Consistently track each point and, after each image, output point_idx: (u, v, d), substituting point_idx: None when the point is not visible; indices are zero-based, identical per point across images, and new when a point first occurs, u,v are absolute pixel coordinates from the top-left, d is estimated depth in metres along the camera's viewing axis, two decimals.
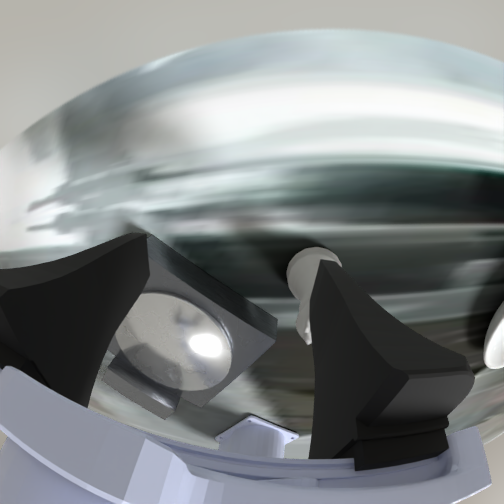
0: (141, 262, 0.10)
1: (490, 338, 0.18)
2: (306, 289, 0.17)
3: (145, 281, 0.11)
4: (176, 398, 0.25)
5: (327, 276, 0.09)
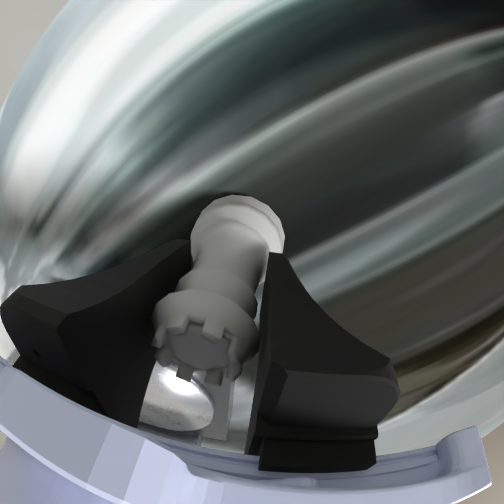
0: (186, 270, 0.10)
1: None
2: None
3: None
4: (193, 438, 0.20)
5: (268, 268, 0.09)
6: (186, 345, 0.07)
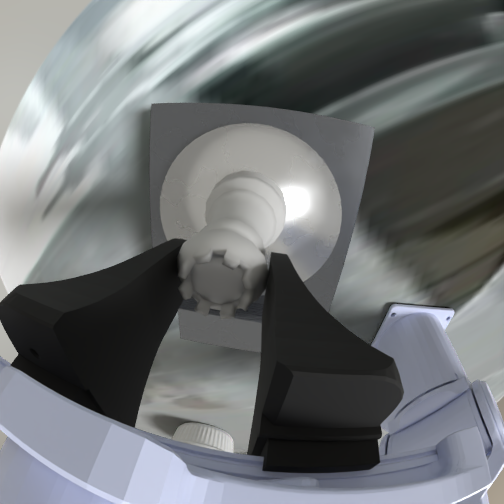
0: None
1: None
2: None
3: None
4: None
5: (271, 268, 0.09)
6: (207, 277, 0.09)
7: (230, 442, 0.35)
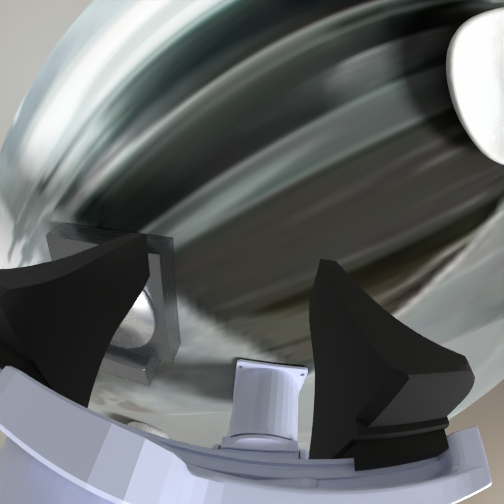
0: (141, 262, 0.10)
1: (458, 108, 0.12)
2: None
3: (145, 281, 0.11)
4: (146, 359, 0.26)
5: (327, 276, 0.09)
6: None
7: None
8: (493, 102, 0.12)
